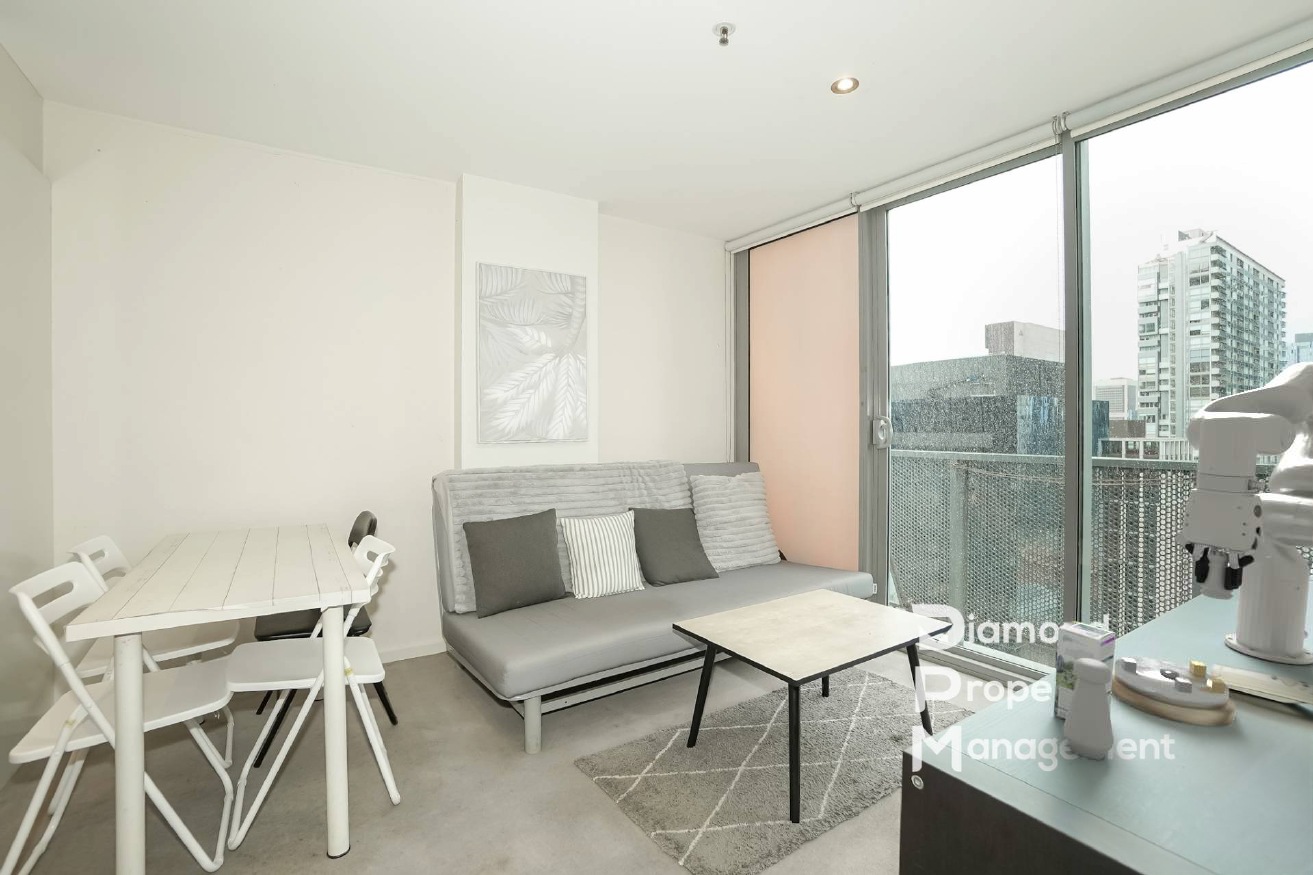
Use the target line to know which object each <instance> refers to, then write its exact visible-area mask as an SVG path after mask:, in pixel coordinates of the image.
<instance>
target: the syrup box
mask: <svg viewBox="0 0 1313 875" xmlns="http://www.w3.org/2000/svg"><path fill="white" fill-rule="evenodd" d="M1115 650H1116V632H1115V631H1112V630H1107V629H1104V628H1101V627H1097V626H1094V625H1091V624H1086V623H1083V622H1081V621H1077V620H1073V621H1069V622H1066V623H1064V624H1063V625H1061V626H1059V627H1058V633H1057V650H1056V651H1057V654H1056V666H1055V667H1056V669H1055V685H1054V687H1055V688H1054V701H1053V702H1054V704H1053V705H1054V706H1053V716H1054V717H1056V718H1059V719H1061V720H1064V721H1065V720H1066V717H1067V713H1068V710H1069V706H1070V703H1071V699H1072V696H1073V692H1074V689H1075V685H1076V682H1077V678H1078V677H1077V676H1076V675H1075V674H1074V662H1075V660H1077V659H1080V658H1090V659H1094V660H1098V661H1101V662H1103V663H1105V664H1106V665H1107V666H1108V667H1109V668H1110V670H1111V679H1110V682H1109V683H1106V684H1105V686H1106V692H1107V699H1108V706H1109V713H1110V714H1111V703H1112V702H1111V701H1112V693H1111V688H1112V675H1113V669H1114V663H1115V661H1114V659H1115Z"/></svg>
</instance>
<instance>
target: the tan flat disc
mask: <svg viewBox="0 0 1313 875" xmlns="http://www.w3.org/2000/svg"><path fill="white" fill-rule="evenodd" d="M1114 669H1115V668H1113V675H1112V688H1111V692H1112V693H1113V694H1114V695H1115V696H1116V698H1117V697H1118V698H1119V699H1118V698H1117V699H1118V700H1119V701H1122V702H1123V703H1125V704H1126V705H1128V706H1130V707H1133V708H1135V709H1136V710H1139V711H1142V712H1143V713H1147V714H1149V715H1152V716H1155V717H1158V718H1161V719H1165V720H1169V721H1173V722H1177V723H1181V724H1187V725H1192V726H1200V727H1223V725H1224V726H1227V725H1230V724H1232V721H1233V722H1234V720H1235V711H1236V704H1235V702H1234V701H1233V700H1232V698H1231V697H1229V698H1228V705H1227V706H1226V707H1224V708H1222V709H1216V710H1201V709H1192V708H1186V707H1180V706H1176V705H1171V704H1168V703H1164V702H1160V701H1157V700H1154V699H1151V698H1148V697H1146V696H1143V695H1141V694H1138V693H1136V692H1134V691H1132V690H1130V689H1128V688H1127V687H1125V686H1123V685H1122V684H1121V683H1119V682H1118V681H1117V680H1116V678H1115V677H1114ZM1112 693H1111V694H1112ZM1113 694H1112V695H1113ZM1114 695H1113V696H1114ZM1115 696H1114V697H1115ZM1233 719H1234V720H1233ZM1229 723H1230V724H1229Z"/></svg>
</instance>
